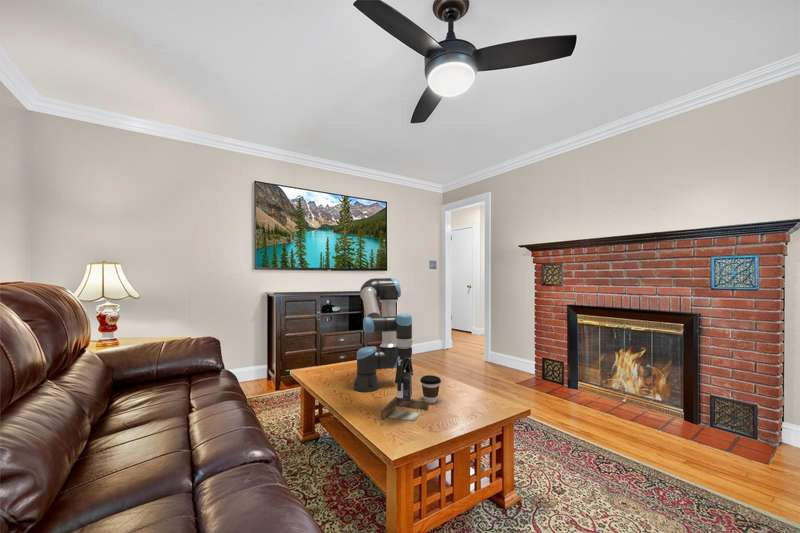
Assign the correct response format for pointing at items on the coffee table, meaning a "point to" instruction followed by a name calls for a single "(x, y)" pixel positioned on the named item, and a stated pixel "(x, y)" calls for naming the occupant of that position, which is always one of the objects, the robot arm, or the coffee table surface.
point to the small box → (406, 387)
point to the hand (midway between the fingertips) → (404, 393)
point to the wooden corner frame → (401, 413)
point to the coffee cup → (430, 387)
